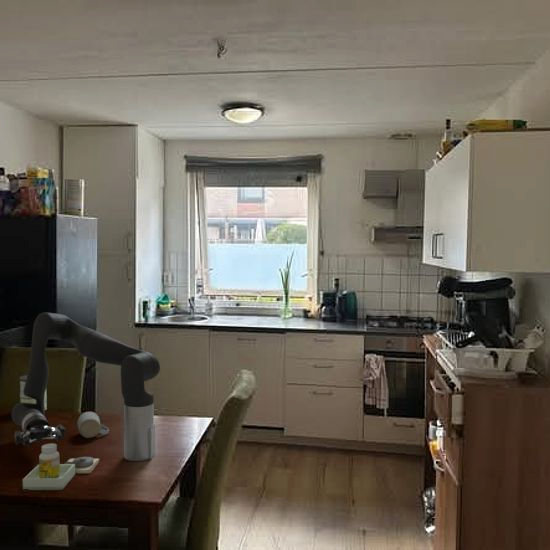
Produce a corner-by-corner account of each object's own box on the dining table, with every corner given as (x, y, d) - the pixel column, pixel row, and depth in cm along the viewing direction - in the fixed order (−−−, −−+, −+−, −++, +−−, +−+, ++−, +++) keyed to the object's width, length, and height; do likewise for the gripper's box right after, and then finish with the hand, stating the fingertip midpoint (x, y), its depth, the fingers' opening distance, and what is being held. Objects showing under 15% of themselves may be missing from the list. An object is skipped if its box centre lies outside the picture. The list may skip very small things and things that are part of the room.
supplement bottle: (63, 477, 156) (63, 444, 156) (47, 484, 151) (47, 450, 151) (51, 473, 159) (51, 441, 158) (35, 480, 154) (34, 446, 154)
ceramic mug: (79, 440, 189) (79, 418, 189) (77, 433, 197) (77, 412, 197) (110, 437, 194) (111, 415, 194) (107, 430, 201) (107, 409, 201)
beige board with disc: (99, 461, 170) (99, 452, 170) (90, 473, 161) (90, 463, 161) (70, 461, 170) (69, 452, 170) (59, 473, 161) (59, 464, 161)
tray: (75, 474, 161) (75, 464, 160) (62, 489, 150) (62, 479, 150) (38, 474, 160) (38, 464, 160) (22, 490, 150) (22, 479, 149)
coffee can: (16, 409, 226) (16, 375, 226) (42, 405, 233) (42, 372, 232) (23, 415, 218) (23, 380, 218) (50, 410, 225) (50, 376, 224)
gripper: (11, 418, 173) (17, 432, 159) (58, 411, 180) (68, 425, 167) (11, 441, 173) (18, 458, 159) (58, 434, 181) (68, 449, 167)
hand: (43, 441), depth 163 cm, fingers open, 8 cm apart
